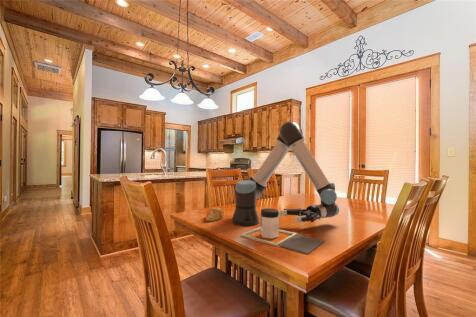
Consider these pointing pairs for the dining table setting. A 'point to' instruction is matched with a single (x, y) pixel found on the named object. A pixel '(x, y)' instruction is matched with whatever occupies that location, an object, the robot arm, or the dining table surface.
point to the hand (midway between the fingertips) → (285, 217)
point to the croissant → (214, 214)
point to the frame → (269, 241)
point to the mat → (302, 244)
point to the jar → (269, 223)
